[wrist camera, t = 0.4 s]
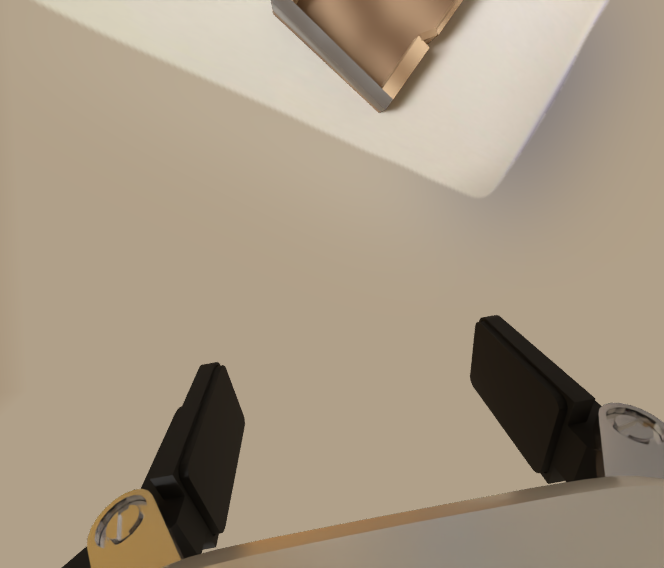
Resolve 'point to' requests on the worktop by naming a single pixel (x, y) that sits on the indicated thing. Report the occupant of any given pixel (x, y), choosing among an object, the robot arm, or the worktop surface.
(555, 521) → the robot arm
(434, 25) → the brown open tray
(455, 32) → the worktop surface
